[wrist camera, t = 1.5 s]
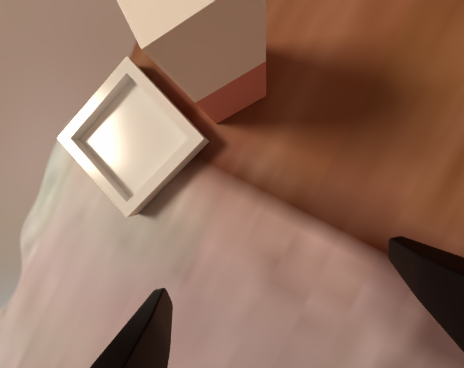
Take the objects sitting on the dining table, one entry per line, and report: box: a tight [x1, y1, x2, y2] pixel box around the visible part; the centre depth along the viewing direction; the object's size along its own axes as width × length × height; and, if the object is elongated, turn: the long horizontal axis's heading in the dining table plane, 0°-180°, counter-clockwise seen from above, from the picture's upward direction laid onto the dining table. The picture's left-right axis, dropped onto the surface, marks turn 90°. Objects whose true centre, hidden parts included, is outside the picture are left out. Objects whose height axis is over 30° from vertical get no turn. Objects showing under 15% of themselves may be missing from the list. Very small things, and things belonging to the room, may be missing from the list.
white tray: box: [57, 56, 210, 218], centre depth 21 cm, size 10×10×2 cm
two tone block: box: [117, 0, 266, 124], centre depth 14 cm, size 5×5×12 cm
